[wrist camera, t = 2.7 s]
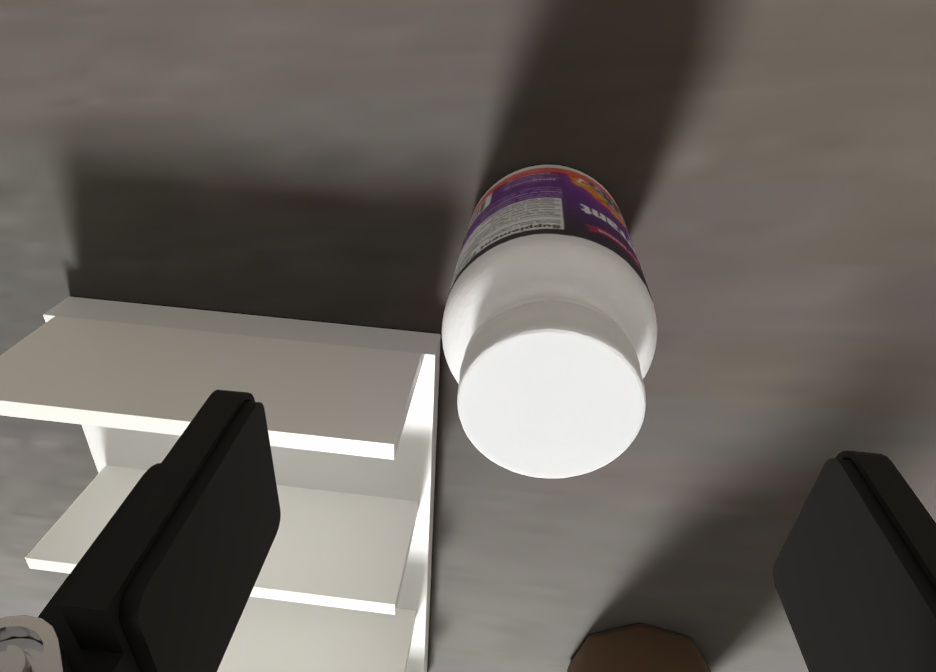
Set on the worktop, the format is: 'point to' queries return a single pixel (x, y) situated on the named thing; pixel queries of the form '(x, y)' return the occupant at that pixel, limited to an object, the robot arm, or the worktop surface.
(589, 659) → the beer bottle
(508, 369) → the pill bottle
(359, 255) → the worktop surface
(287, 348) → the shelf rack
